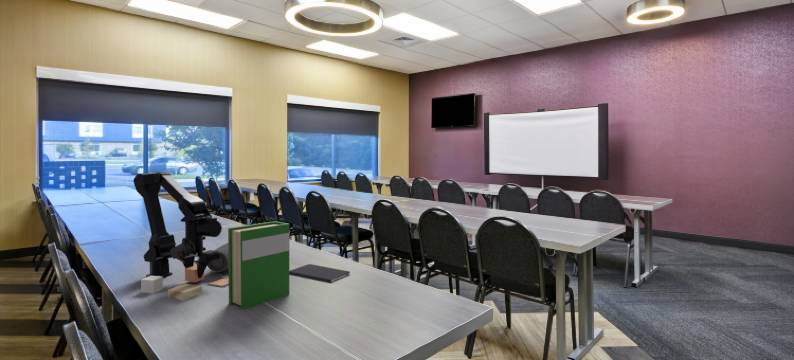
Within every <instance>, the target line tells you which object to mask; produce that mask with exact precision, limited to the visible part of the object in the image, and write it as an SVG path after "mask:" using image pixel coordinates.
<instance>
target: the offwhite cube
mask: <svg viewBox="0 0 794 360" xmlns="http://www.w3.org/2000/svg"><path fill="white" fill-rule="evenodd" d="M163 278H164V277H163V276H149V277H147V276H145V278H141V279H140V285H141V286H140V289H141V290H140V291H141V294H142V293H143V294H155V293H157V292H160V291H162V290H163V287H164V283H163V282H164V281H163V280H164V279H163Z"/></svg>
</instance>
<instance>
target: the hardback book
mask: <svg viewBox="0 0 794 360" xmlns="http://www.w3.org/2000/svg"><path fill="white" fill-rule="evenodd" d="M227 230H228V231H227V234H228V238H227V240H228V241H227V243H228V264H229V270H228V280H229V285H228V305H230V306H231V305H234V304H236V305H238V306H240V310H242V311H243V310H246V309H250V308H251V307H255V306H258V305H262V304H264V303H268V302H270V301H274V300H276V299H279V298H282V297H285V296H289V295H290V274H289V271H290V223H286V222H283V221H282V222H280V221H268V222H267V221H266V222H261V223H260V222H259V223H255V224H248V225H241V226H234V227H228V228H227Z"/></svg>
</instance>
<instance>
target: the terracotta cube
mask: <svg viewBox="0 0 794 360" xmlns="http://www.w3.org/2000/svg"><path fill="white" fill-rule="evenodd" d="M203 280H205V272H204V273H203V275H202V277H201V278H198V273H197V265H194V266H192V267H188V268H185V267H184V282H190V283H197V282H199V281H203Z"/></svg>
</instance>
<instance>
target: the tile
mask: <svg viewBox="0 0 794 360" xmlns="http://www.w3.org/2000/svg"><path fill="white" fill-rule="evenodd" d="M207 285H208V286H212V287H218V288H225V287H227V286H229V279H226V278H221V279H218V280H216V281H212V282H210V283H207Z"/></svg>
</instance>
